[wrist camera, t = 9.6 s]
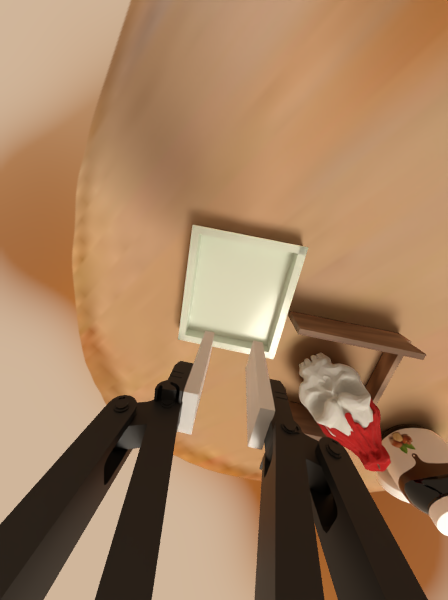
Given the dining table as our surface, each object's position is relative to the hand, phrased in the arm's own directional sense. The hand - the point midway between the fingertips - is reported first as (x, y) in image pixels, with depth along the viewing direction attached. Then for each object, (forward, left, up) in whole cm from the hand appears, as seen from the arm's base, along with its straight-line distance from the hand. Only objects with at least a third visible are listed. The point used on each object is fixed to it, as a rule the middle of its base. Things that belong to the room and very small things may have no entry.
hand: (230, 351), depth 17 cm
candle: (+10, +15, -17) cm, 24 cm away
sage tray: (0, 0, -16) cm, 16 cm away
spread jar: (+23, +35, -16) cm, 45 cm away
